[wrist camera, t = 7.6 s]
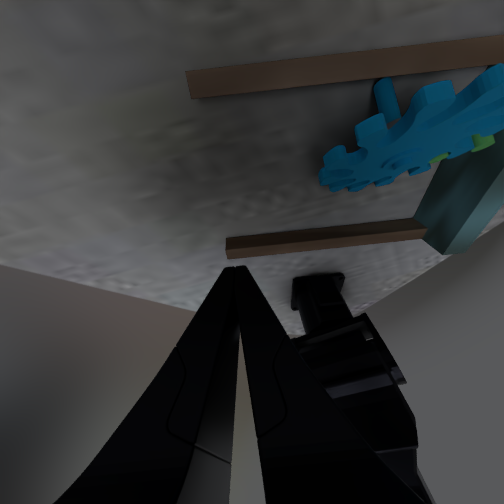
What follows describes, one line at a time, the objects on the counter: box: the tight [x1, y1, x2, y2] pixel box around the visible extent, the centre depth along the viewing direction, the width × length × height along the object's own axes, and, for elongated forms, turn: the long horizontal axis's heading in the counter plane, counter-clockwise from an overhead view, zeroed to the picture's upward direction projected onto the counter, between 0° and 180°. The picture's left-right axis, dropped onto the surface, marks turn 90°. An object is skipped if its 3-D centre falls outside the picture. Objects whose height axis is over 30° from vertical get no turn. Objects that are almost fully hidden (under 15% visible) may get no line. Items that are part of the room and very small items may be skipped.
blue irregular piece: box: [318, 63, 504, 192], centre depth 13 cm, size 11×6×10 cm
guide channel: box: [185, 35, 504, 259], centre depth 15 cm, size 14×22×4 cm, turn 95°
